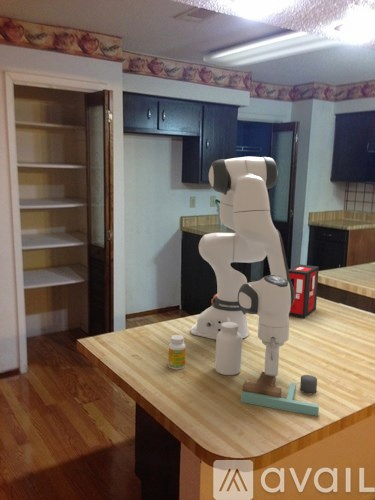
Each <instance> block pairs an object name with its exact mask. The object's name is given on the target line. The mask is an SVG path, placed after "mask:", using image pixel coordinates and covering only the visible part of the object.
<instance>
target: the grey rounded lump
mask: <svg viewBox="0 0 375 500" xmlns="http://www.w3.org/2000/svg"><path fill="white" fill-rule="evenodd" d="M317 387H318V378H317V377H316V376H314V375H311V374H303V375H301V376H300V386H299V389H300V391H301V392H302V391H303V392H302V393H305V394H309V393H312V394H315V393H317ZM314 392H315V393H314Z"/></svg>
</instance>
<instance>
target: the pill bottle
mask: <svg viewBox="0 0 375 500" xmlns="http://www.w3.org/2000/svg"><path fill="white" fill-rule="evenodd" d="M215 340H216V341H215V365H214V367H215V368H214V369H215V371H216V372H217V373H218V374H221V375H225V376H234V375H238V374H239V373H241V369H242V368H241V367H242V350H243V346H242V345H243V338H242V336H241V334H240V333H239V332H238V324H236V323H233V322H224V323H222V324H221V331H220V332H219V333H218V334H217V336H216V339H215Z"/></svg>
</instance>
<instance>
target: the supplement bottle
mask: <svg viewBox="0 0 375 500" xmlns="http://www.w3.org/2000/svg"><path fill="white" fill-rule="evenodd" d="M186 348H187V347H186V344H185V342H184V336H183V335H181V334H173V335H171V336H170V343H168V352H167V353H168V356H167V357H168V367H169V368H170V369H172V370H182V369H185V367H186Z"/></svg>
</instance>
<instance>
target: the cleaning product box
mask: <svg viewBox="0 0 375 500" xmlns="http://www.w3.org/2000/svg"><path fill="white" fill-rule="evenodd" d="M319 269H320V267H319V266H318V265H317V266H315V265H307V264H301V263H299V264H297V265H295V266H292V267H291V268H290V269H289V268H288V270H289V275H290V279H291V282H292V285H293V287H294V291H295V299H294V302H293V304H292V306H291V308H290V312H289V317H293V318H299V319H303V320H304V319H306V318H307V317H308V316H309V315H311V314H312V313H313V312H314V311H316V309H317V299H318V298H317V297H318V285H319V284H318V283H319V282H318V281H319V272H320V271H319Z"/></svg>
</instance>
